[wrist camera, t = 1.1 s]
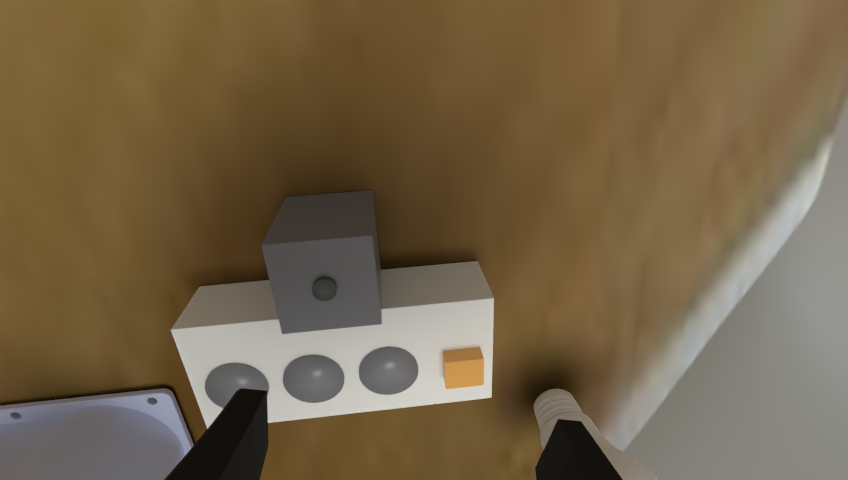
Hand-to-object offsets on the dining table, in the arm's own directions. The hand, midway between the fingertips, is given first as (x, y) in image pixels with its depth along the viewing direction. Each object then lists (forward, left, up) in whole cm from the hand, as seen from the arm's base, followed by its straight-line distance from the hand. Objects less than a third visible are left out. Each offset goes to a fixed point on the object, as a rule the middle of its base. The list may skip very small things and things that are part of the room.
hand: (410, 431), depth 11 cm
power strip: (-3, -5, -12) cm, 13 cm away
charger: (-3, 0, -12) cm, 12 cm away
